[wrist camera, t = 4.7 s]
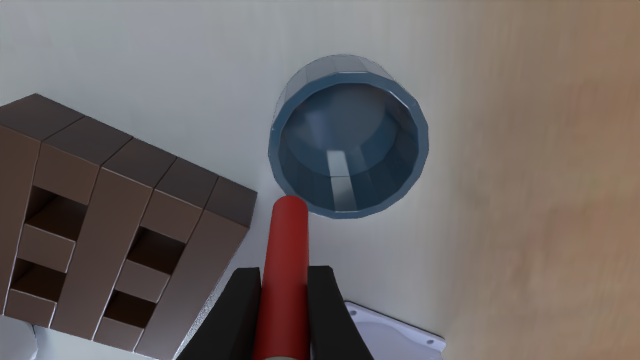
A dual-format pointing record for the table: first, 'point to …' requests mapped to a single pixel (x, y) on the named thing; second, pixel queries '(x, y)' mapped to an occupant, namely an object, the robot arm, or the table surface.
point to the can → (17, 340)
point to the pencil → (285, 286)
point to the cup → (347, 138)
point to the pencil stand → (109, 230)
